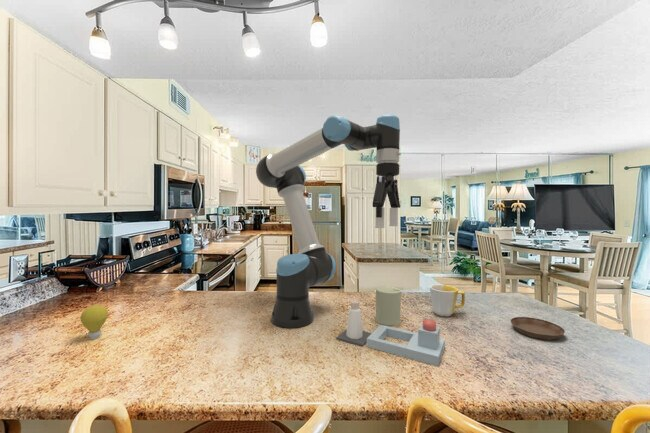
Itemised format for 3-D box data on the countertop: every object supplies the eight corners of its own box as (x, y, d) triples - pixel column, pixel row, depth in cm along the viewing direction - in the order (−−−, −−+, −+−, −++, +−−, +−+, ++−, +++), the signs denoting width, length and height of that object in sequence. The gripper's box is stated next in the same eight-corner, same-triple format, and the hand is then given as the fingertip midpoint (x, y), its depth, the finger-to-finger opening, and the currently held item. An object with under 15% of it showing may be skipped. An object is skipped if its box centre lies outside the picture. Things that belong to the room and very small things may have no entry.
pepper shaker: (365, 338, 89) (365, 303, 89) (348, 340, 88) (348, 304, 88) (360, 331, 94) (360, 298, 94) (344, 332, 93) (344, 298, 93)
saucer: (563, 347, 87) (563, 339, 86) (506, 333, 97) (506, 325, 96) (566, 332, 97) (566, 324, 97) (514, 320, 107) (514, 313, 107)
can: (401, 326, 100) (402, 292, 100) (374, 324, 102) (375, 290, 102) (400, 317, 109) (400, 285, 109) (375, 315, 111) (375, 284, 111)
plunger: (421, 329, 81) (421, 322, 81) (423, 325, 84) (424, 318, 84) (434, 332, 79) (434, 325, 79) (436, 327, 82) (437, 320, 82)
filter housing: (366, 346, 85) (367, 323, 85) (380, 332, 96) (380, 311, 95) (438, 366, 75) (438, 339, 75) (444, 347, 85) (445, 324, 85)
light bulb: (113, 335, 91) (113, 303, 91) (90, 344, 85) (89, 310, 84) (98, 331, 93) (98, 301, 93) (75, 340, 87) (74, 307, 86)
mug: (433, 318, 108) (434, 290, 108) (426, 309, 118) (426, 283, 118) (471, 319, 107) (472, 292, 107) (460, 310, 117) (461, 284, 117)
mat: (336, 339, 90) (336, 337, 90) (348, 329, 98) (348, 327, 98) (362, 346, 85) (362, 344, 85) (373, 335, 93) (373, 333, 93)
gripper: (385, 156, 83) (385, 229, 84) (409, 167, 105) (408, 225, 105) (362, 158, 87) (361, 228, 88) (389, 169, 108) (388, 225, 109)
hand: (387, 227), depth 96 cm, fingers open, 13 cm apart
